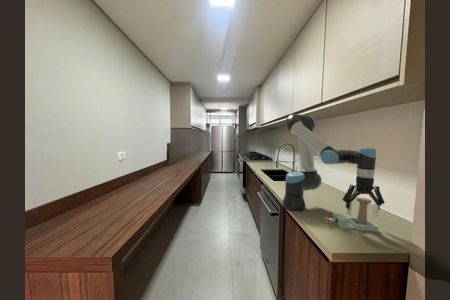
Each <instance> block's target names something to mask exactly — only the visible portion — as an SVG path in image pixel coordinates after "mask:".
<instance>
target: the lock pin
mask: <svg viewBox="0 0 450 300" xmlns="http://www.w3.org/2000/svg"><path fill="white" fill-rule="evenodd" d="M324 222H325V224H330V223H334V222H336V223H338V219H333V217H332V218H329V216H325V217H324Z"/></svg>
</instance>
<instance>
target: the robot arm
mask: <svg viewBox="0 0 450 300" xmlns="http://www.w3.org/2000/svg"><path fill="white" fill-rule="evenodd" d="M316 124H317V123H316V119H315V118H314V117H313V116H311V115H308V114H298V113H293V114H290V115H288V117H287V118H286V119H285V127H286V129H287V131H289V132H290V133H291V134H294V135H296V136H297V137H298V138H297V139H298V147H299V149H298V150H299V161H300V169H299V171H291V172H290V171H289V172H287V174H286V176H285V190H284V191H285V192H284V196H283V199H282V201H281V206H282V207H283V208H284V209H287V210H290V211H293V212H294V211H295V212H301V211H302V212H303V211H305V210H306V207H307V206H306V202H305V199H304V192H305V191H313V190H316V189H318V188H320V187H321V185H322V182H323V181H322V180H323V179H322V177H321V175H320V174H319V173H318V170H317V169H316V168H315V163H314V152H316V153H317V154H318V155H319V156H320V160H321V162H322V163H323V164H325V165H339V164H350V165H351V164H353V165H356V176H355V183H356V184H354V185H353V184H349V186H348V187H349V188H348V189H347V191H346V193H345V194H344V196H343V197H342V199H341V200H342V201H343V202H345V208H346V215H348V216H351V217H352V209H353V204H352V202H354V200H355V199H357V198H358V197H359V196H360V195H369V197H370V198H371V199H372V201H373V204H372V216H374V217H375V218H376V217H377V218H378V216H379V211H380V209H381V206H382V205H385V200H384V198H383V196H382V194H381V191H380V186H378V185H374V183H375V172H376V170H375V169H376V162H377V161H376V160H377V149H376V148H375V147H359V148H358V150H349V149H337V150H336V149H335V148H334V147H332V146H331V145H330V144H328V143H327V142H326V141H325V140H323V138H321V137H320V136H318V135H317V134H316V133H314V129H315V128H316V126H317V125H316ZM313 151H314V152H313ZM373 191H374V192H373Z"/></svg>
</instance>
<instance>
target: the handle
mask: <svg viewBox="0 0 450 300" xmlns="http://www.w3.org/2000/svg"><path fill="white" fill-rule="evenodd" d="M356 201H357V202H358V203H359V207H358V211H357V218H358V223H357V225H367V224H366V220H367V219H368V218H367V217H368V206H369V204H372V201H373V199H372V200H371V199H370V198H365V197H356Z"/></svg>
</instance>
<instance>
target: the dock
mask: <svg viewBox="0 0 450 300" xmlns="http://www.w3.org/2000/svg"><path fill="white" fill-rule="evenodd" d="M332 218H333V219H338V223H336V222H333V224H334V225H336V226H337V227H338V228H339V229H342V230H343V229H345V230H356V231H365V232H367V231H368V232H369V231H370V232H379V226H378V225H376V224H375V223H374V222H373V221H370V220H369V219H368V218H367V220H366V224H365V225H358V217H352V216H351V217H348V216H346V217H345V216H344V215H342V214H341V213H332Z"/></svg>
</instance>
